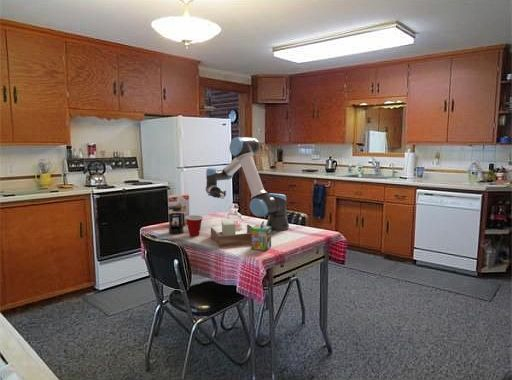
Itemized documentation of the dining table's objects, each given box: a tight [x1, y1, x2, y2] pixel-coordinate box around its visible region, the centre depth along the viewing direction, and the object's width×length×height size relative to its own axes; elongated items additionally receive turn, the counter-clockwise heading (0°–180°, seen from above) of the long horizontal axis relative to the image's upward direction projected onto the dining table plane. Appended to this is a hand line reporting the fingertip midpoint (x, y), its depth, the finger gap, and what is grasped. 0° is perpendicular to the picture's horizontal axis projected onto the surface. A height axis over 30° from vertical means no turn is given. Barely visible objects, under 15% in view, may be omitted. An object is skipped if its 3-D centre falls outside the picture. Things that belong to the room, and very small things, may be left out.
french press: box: [167, 197, 186, 236], centre depth 233 cm, size 12×9×23 cm
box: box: [210, 224, 254, 248], centre depth 215 cm, size 22×24×6 cm
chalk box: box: [251, 220, 272, 252], centre depth 198 cm, size 9×9×15 cm
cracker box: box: [167, 194, 190, 226], centre depth 254 cm, size 14×6×21 cm, turn 104°
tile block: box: [221, 219, 236, 236], centre depth 228 cm, size 14×7×8 cm, turn 10°
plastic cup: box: [185, 214, 204, 238], centre depth 225 cm, size 11×11×12 cm
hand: (223, 196), depth 235 cm, fingers closed
